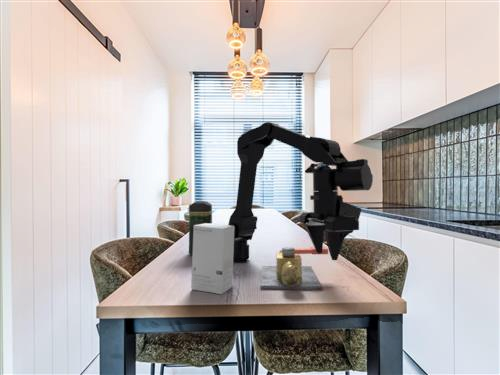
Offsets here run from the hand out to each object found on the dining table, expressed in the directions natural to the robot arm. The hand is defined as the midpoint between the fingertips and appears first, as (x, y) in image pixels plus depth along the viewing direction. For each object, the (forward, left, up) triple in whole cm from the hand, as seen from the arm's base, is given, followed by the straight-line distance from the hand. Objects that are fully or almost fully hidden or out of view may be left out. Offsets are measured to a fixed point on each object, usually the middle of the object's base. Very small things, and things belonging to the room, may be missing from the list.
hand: (326, 256), depth 68 cm
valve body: (-9, +5, -7) cm, 12 cm away
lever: (-5, +5, -1) cm, 7 cm away
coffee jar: (-38, +31, -7) cm, 49 cm away
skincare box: (-27, -3, -7) cm, 28 cm away
